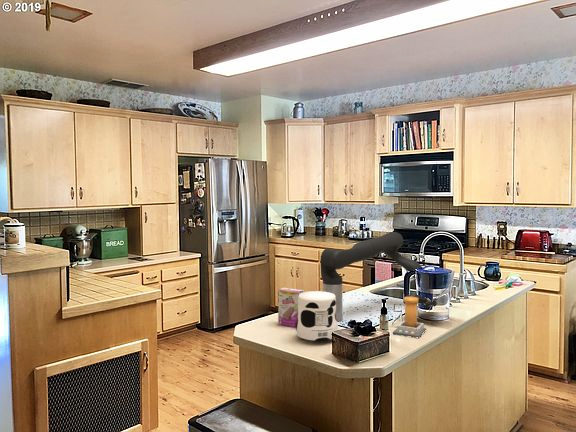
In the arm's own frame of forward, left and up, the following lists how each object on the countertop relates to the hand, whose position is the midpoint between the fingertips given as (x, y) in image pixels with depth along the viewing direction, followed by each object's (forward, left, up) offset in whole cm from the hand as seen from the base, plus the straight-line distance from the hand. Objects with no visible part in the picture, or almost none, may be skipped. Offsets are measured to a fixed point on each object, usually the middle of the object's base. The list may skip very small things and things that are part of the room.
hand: (416, 304), depth 209 cm
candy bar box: (-49, -26, -10) cm, 57 cm away
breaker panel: (0, -10, -10) cm, 14 cm away
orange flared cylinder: (0, -8, -9) cm, 12 cm away
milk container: (-31, -36, -10) cm, 49 cm away
